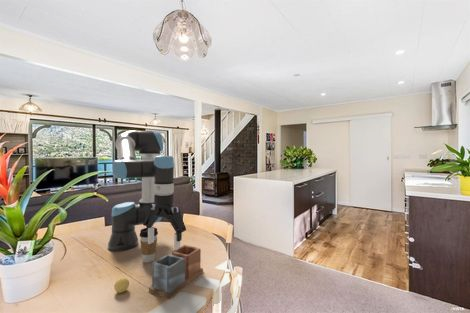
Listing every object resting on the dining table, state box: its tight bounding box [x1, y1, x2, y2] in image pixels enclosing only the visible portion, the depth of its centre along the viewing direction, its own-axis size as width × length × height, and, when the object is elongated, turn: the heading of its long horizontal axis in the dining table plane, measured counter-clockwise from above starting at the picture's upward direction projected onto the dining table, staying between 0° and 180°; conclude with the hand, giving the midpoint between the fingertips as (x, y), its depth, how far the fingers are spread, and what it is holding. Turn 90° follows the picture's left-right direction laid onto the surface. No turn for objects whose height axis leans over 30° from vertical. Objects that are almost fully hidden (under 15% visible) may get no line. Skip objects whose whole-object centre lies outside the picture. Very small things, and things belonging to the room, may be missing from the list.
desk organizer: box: [148, 244, 204, 300], centre depth 92 cm, size 10×21×10 cm, turn 154°
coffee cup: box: [139, 227, 159, 263], centre depth 110 cm, size 8×8×15 cm
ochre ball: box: [113, 276, 130, 294], centre depth 85 cm, size 5×5×5 cm
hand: (163, 245), depth 92 cm, fingers open, 13 cm apart
